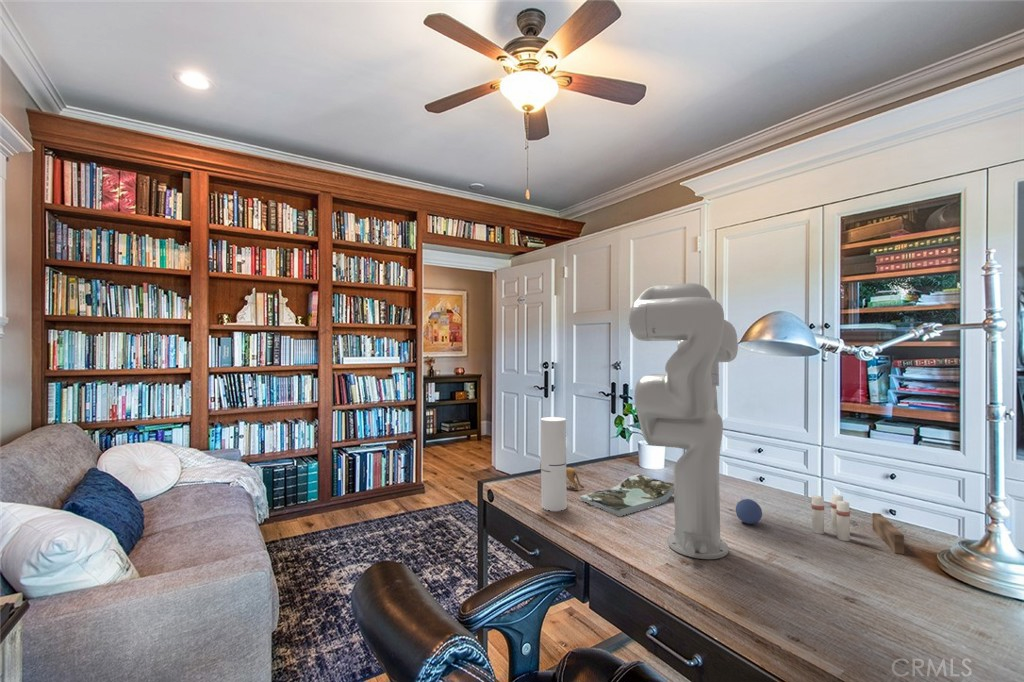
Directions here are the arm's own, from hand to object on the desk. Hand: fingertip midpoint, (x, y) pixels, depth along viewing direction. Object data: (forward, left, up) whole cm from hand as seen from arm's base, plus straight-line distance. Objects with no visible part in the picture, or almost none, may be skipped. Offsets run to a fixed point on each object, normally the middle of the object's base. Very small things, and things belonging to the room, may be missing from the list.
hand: (704, 442), depth 124 cm
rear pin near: (-8, -30, -19) cm, 36 cm away
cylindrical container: (-12, +40, -19) cm, 46 cm away
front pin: (-5, -25, -19) cm, 32 cm away
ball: (-5, -10, -16) cm, 20 cm away
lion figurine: (+6, +44, -19) cm, 48 cm away
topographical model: (+2, +21, -20) cm, 29 cm away
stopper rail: (-5, -39, -19) cm, 43 cm away
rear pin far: (-3, -30, -19) cm, 35 cm away
